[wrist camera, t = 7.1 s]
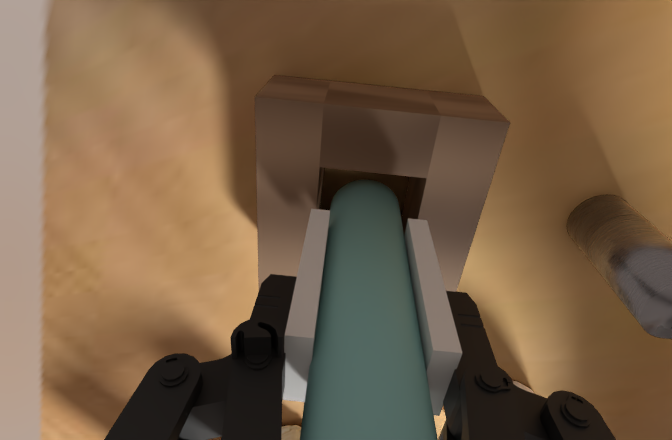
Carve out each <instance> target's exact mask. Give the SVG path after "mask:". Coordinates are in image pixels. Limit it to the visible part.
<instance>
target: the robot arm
mask: <svg viewBox="0 0 672 440" xmlns="http://www.w3.org/2000/svg"><path fill="white" fill-rule="evenodd" d="M329 218H330V210H320V209H311V212H310V217H309V222H308V226H307V231H306V236H305V241H304V245H303V250H302V255H301V260H300V264H299V269H298V274H297V277H295V276H285V275H275V274H270V275H269V276H268V277H267V278H266V279H265V280H264V281H263V282H262V283H261V286H260V290H259V293H258V297H257V299H256V302H255V306H254V308H253V311H252V315H251V318H250V320H247V321H245V322H243V323H241V324H240V325H239V326H238V327H236V328H235V329H234V331H233V333H232V336H231V350H232V354H231V355H229V356H227V357H225V358H222V359H219V360H215V361H209V362H204V363H199V362H198V361H197V360H196V359H195V358H194V357H193V356H190V355H188V354H172V355H169V356H165V357H164V358H162V359H160V360H159V361H157V362H155V364H154V365H153V366H152V367H151V368H150V369H149V370H148V372H147V373H146V375H145V377H144V378H143V380H142V381H141V383H140V384H139V386H138V388H137V389H136V391H135V392H134V394H133V395H132V397H131V399H130V400H129V402H128V403H127V405H126V406H125V408H124V409H123V411H122V413H121V414H120V416H119V417H118V419H117V420H116V422H115V424H114V425H113V427H112V428H111V430H110V431H109V433H108V435H107V436H106V438H105V439H104V440H208V439H212V438H217V437H221V436H222V437H221V440H281V433H282V399H283V400H290V401H300V402H305V396H306V388H307V380H308V373H309V367H310V364H311V361H312V356H313V348H314V340H315V332H316V324H317V316H318V308H319V301H320V293H321V285H322V277H323V269H324V261H325V253H326V245H327V237H328V229H329ZM404 239H405V245H406V251H407V257H408V263H409V269H410V275H411V281H412V287H413V293H414V300H415V306H416V312H417V318H418V324H419V330H420V336H421V342H422V348H423V354H424V361H425V367H426V373H427V379H428V385H429V391H430V397H431V403H432V409H433V415H438V416H439V415H440V412H441V410H442V407H443V404H444V409H445V415H446V421H445V424H444V426H443V429H442V431H441V434H440V437H439V439H438V440H616V439H615V437H614V436H613V434H612V433H611V431H610V429H609V428H608V426H607V425H606V423H605V421H604V420H603V418H602V417H601V415H600V414H599V412H598V411H597V410H596V409H595V408H594V406H593V405H592V404H590V403H589V402H588V401H587V400H585V399H584V398H583V397H581V396H578V395H576V394H574V393H572V392H567V391H557V392H553V393H552V394H551V395H550V396H549V397H548V399H547V398H544V397H542V396H539V395H536V394H534V393H531V392H528V391H526V390H524V389H521V388H519V387H517V386H516V385H514V384H513V381H512V379H511V378H510V377H509V376H508V374H507V373H506V372H505V371H504V370H502V369H501V368H499V367H498V366H497V363H496V360H495V358H494V355H493V352H492V349H491V346H490V343H489V340H488V337H487V334H486V332H485V329H484V328H483V323H482V320H481V318H480V314H479V311H478V309H477V306H476V304H475V302H474V301H473V300H472V299H471V298H470V297H469V295H468V294H467V293H463V292H453V291H446V290H445V286H444V282H443V278H442V275H441V271H440V267H439V263H438V260H437V256H436V252H435V248H434V245H433V241H432V237H431V233H430V230H429V226H428V222H427V220H419V219H409V218H408V221H407V226H406V230H405V235H404Z"/></svg>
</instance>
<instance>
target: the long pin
mask: <svg viewBox="0 0 672 440" xmlns="http://www.w3.org/2000/svg"><path fill="white" fill-rule="evenodd" d="M300 440H437V434H436V428H435V421H434V415H433V409H432V403H431V397H430V391H429V385H428V379H427V373H426V367H425V361H424V354H423V348H422V342H421V336H420V330H419V324H418V318H417V312H416V306H415V300H414V293H413V287H412V281H411V275H410V269H409V263H408V257H407V251H406V245H405V239H404V232H403V226H402V220H401V214H400V208H399V202H398V199H397V197H396V195H395V194H394V193H393V191H392V190H391V189H390V188H389V187H387V186H386V185H384V184H382V183H380V182H378V181H374V180H367V179H363V180H356V181H352V182H350V183H348V184H346V185H344V186H343V187H341V188H340V189H339V190H338V191H337V192H336V194H335V195H334V197H333V199H332V202H331V206H330V218H329V229H328V237H327V245H326V253H325V261H324V269H323V277H322V285H321V293H320V301H319V308H318V316H317V324H316V332H315V340H314V348H313V356H312V361H311V364H310V367H309V373H308V380H307V388H306V396H305V403H304V411H303V418H302V426H301V434H300Z"/></svg>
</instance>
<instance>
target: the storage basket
mask: <svg viewBox="0 0 672 440" xmlns="http://www.w3.org/2000/svg"><path fill="white" fill-rule="evenodd" d="M300 434H301V427H300V426H298V425H293V426H290V425H288V426H283V427H282V433H281V440H300Z"/></svg>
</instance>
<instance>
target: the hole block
mask: <svg viewBox="0 0 672 440" xmlns="http://www.w3.org/2000/svg"><path fill="white" fill-rule="evenodd" d="M509 125H510V122H509V121H508V120H507V119H506V118H505V117H504V116H503V115H502V114H501V113H500V112H499V111H498V110H497V109H496V108H495V107H494V106H493V105H492V104H491V103H490V102H489V101H488V100H487V99H486V98H485V97H484V96H476V95H466V94H456V93H446V92H436V91H426V90H416V89H407V88H397V87H387V86H377V85H367V84H357V83H347V82H337V81H328V80H318V79H308V78H298V77H288V76H278V75H274V76H273V77H272V78H271V79H270V80H269V81H268V83H267V84H266V85H265V86H264V87H263V88H262V89H261V90H260V92H259V93H258V94H257V95H256V96H255V128H256V178H257V227H258V277H259V290H260V286H261V283H262V282H263V281H264V280H265V279H266V278H267V277H268V276H269V275H270V274H275V275H285V276H295V277H297V274H298V269H299V264H300V260H301V255H302V250H303V245H304V241H305V236H306V231H307V226H308V222H309V217H310V212H311V209H320V210H321V201H322V188H323V175H324V168H332V169H341V170H351V171H361V172H371V173H380V174H390V175H400V176H410V178H409V183H408V188H407V193H406V198H405V203H404V208H403V213H402V218H401V220H402V226H403V232H404V235H405V230H406V226H407V221H408V218H409V219H419V220H427V222H428V226H429V230H430V233H431V237H432V241H433V245H434V248H435V252H436V256H437V260H438V263H439V267H440V271H441V275H442V278H443V282H444V286H445V290H446V291H453V292H456V291H457V287H458V284H459V281H460V278H461V275H462V272H463V269H464V265H465V262H466V259H467V256H468V253H469V250H470V247H471V244H472V240H473V237H474V234H475V231H476V228H477V225H478V222H479V219H480V215H481V212H482V209H483V206H484V203H485V200H486V197H487V193H488V190H489V187H490V184H491V181H492V178H493V175H494V172H495V168H496V165H497V162H498V159H499V156H500V153H501V150H502V147H503V143H504V140H505V137H506V134H507V131H508V128H509Z"/></svg>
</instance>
